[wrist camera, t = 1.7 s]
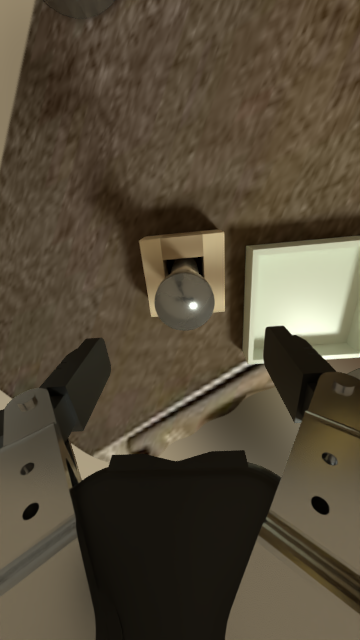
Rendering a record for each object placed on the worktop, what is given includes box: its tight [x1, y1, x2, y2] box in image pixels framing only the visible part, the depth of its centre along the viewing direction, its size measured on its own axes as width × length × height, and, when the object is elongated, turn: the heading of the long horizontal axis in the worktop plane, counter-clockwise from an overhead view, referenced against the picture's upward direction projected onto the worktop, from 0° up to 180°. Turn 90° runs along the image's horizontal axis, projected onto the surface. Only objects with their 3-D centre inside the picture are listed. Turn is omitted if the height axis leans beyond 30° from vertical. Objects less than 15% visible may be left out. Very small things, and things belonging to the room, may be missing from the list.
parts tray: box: [242, 235, 360, 364], centre depth 26 cm, size 14×14×3 cm
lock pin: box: [154, 258, 215, 330], centre depth 21 cm, size 4×4×11 cm
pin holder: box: [139, 229, 225, 317], centre depth 24 cm, size 8×8×4 cm
